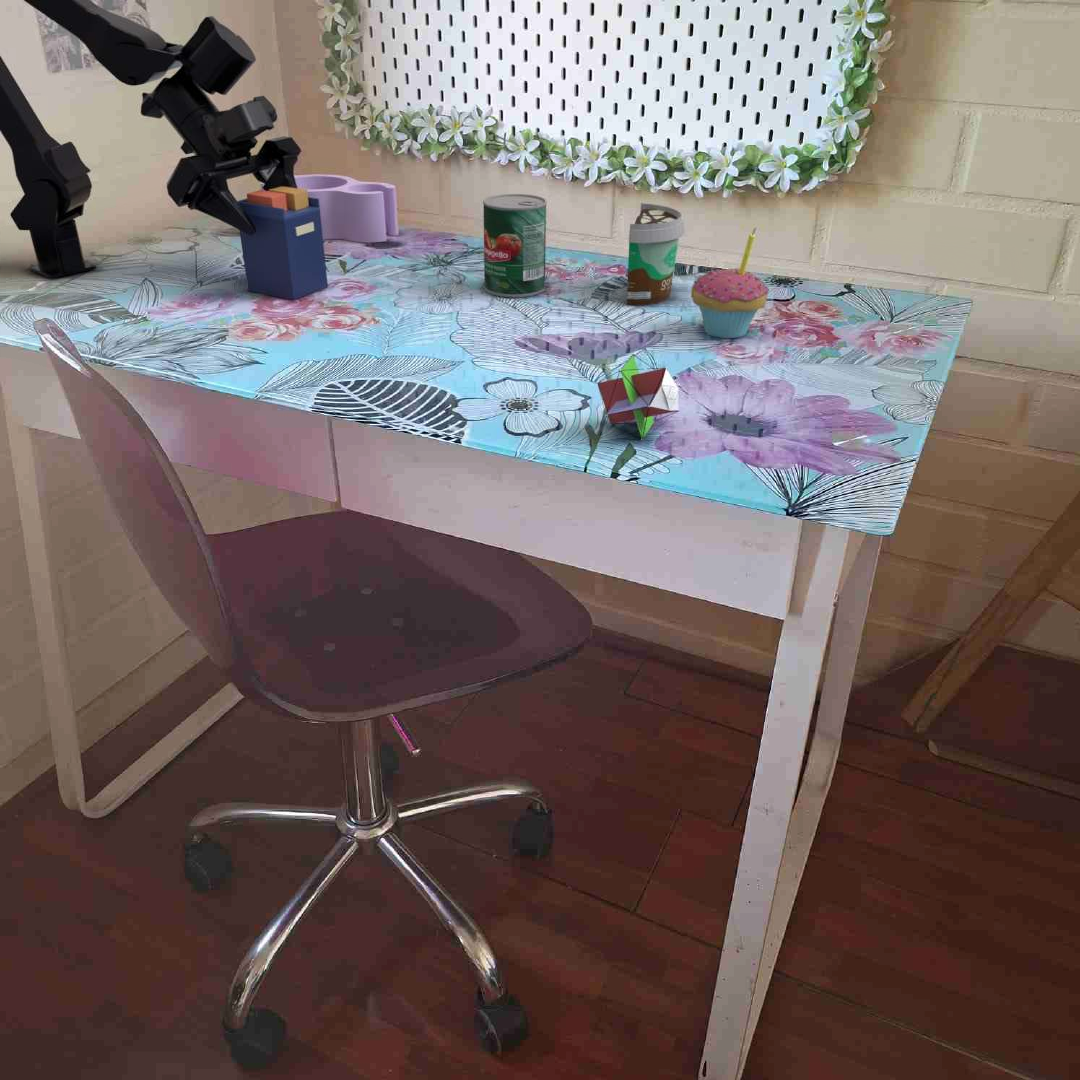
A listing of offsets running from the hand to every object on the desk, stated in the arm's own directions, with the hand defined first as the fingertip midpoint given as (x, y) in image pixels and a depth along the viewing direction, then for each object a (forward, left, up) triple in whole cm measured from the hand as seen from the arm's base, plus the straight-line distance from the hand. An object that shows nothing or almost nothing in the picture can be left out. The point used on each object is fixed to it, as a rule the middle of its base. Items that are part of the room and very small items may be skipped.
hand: (279, 225), depth 122 cm
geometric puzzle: (+58, -5, -8) cm, 59 cm away
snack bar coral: (0, -2, +2) cm, 3 cm away
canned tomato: (+21, +20, -8) cm, 30 cm away
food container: (+36, +30, -8) cm, 48 cm away
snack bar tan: (0, +1, +2) cm, 3 cm away
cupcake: (+50, +24, -8) cm, 56 cm away
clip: (-19, +23, -8) cm, 30 cm away
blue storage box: (0, 0, -8) cm, 8 cm away
